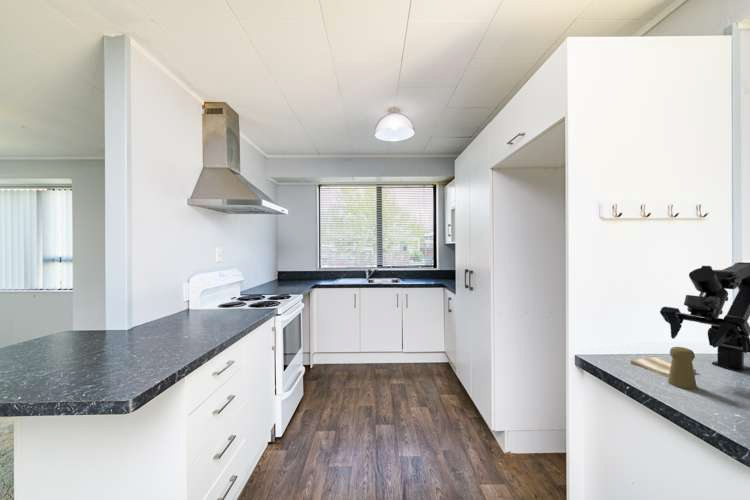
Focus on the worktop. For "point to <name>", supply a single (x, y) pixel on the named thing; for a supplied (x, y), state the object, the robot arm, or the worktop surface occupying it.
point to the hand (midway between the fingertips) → (692, 342)
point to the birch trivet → (655, 365)
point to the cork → (682, 368)
